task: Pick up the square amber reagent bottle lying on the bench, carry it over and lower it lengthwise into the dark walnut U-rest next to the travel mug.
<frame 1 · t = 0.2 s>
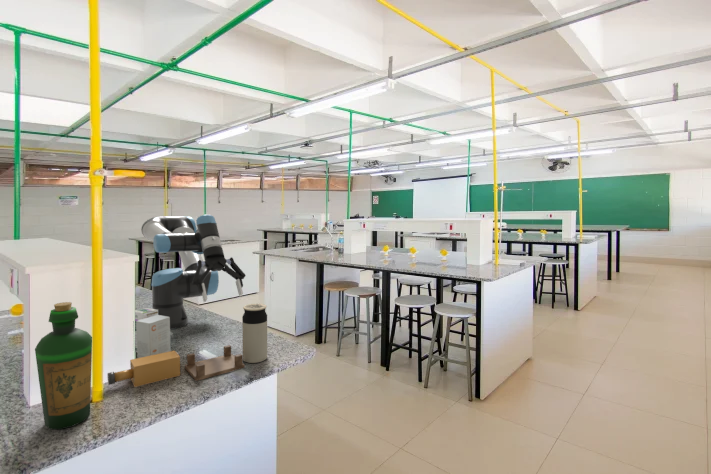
hand: (223, 297, 143), 16 cm above the table, tool tilted 35°, fingers open, 13 cm apart
bottle: (68, 421, 88), on the table
small box: (154, 357, 126), on the table
amber bottle: (155, 377, 111), on the table
U-rest: (214, 367, 118), on the table
travel mug: (255, 359, 125), on the table
syrup box: (146, 351, 131), on the table
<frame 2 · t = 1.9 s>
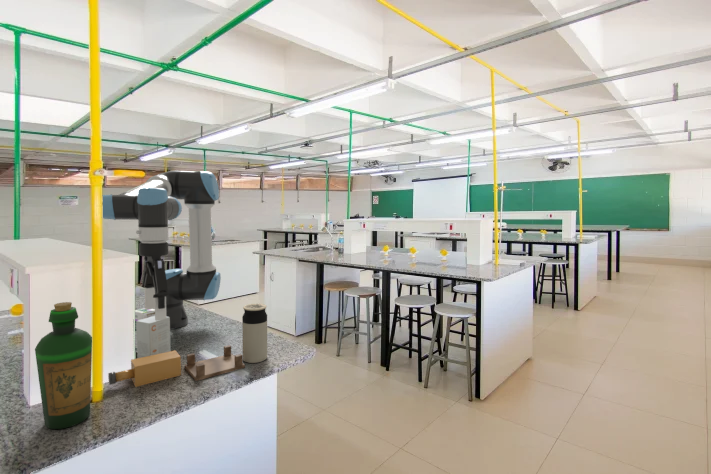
hand: (155, 314, 109), 19 cm above the table, tool pointing down, fingers open, 13 cm apart
nothing on the table moved.
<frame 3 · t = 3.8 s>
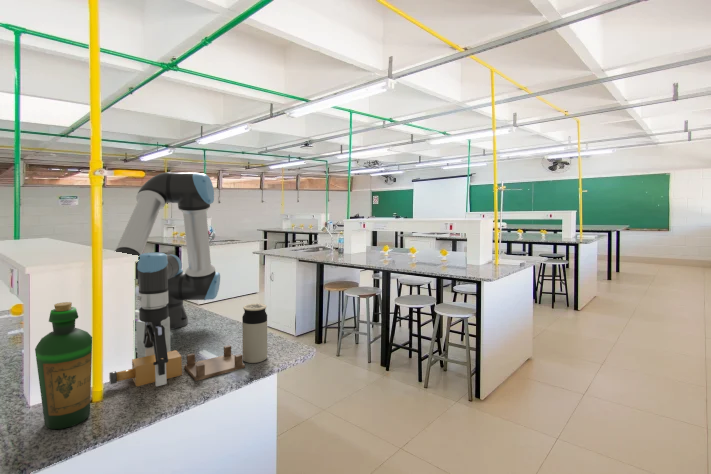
hand: (155, 376, 111), 0 cm above the table, tool pointing down, fingers open, 13 cm apart
nothing on the table moved.
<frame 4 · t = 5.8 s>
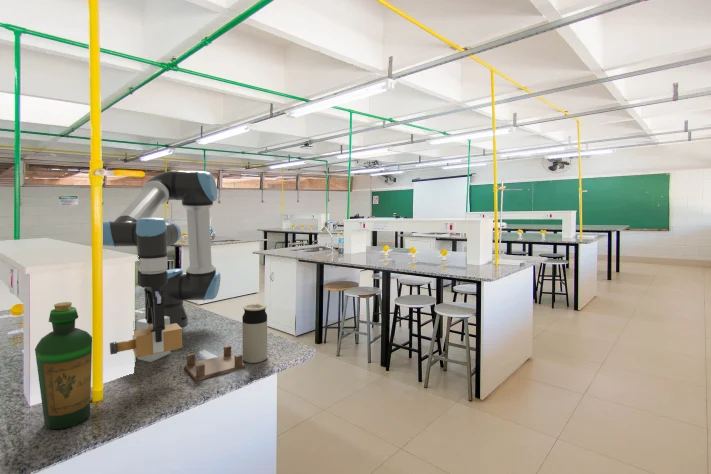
hand: (155, 347, 111), 9 cm above the table, tool pointing down, fingers closed on amber bottle, 6 cm apart
amber bottle: (158, 349, 111), point 8 cm above the table, touching gripper
everything else where it was.
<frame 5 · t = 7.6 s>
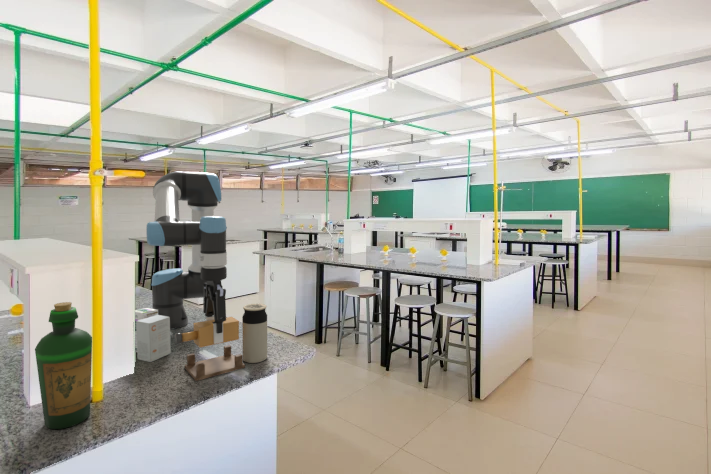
hand: (214, 339, 117), 9 cm above the table, tool pointing down, fingers closed on amber bottle, 6 cm apart
amber bottle: (216, 340, 117), point 9 cm above the table, touching gripper
everything else where it was.
when the fingers open (1 cm above the table, at t = 9.7 s): amber bottle stays where it is, resting on U-rest.
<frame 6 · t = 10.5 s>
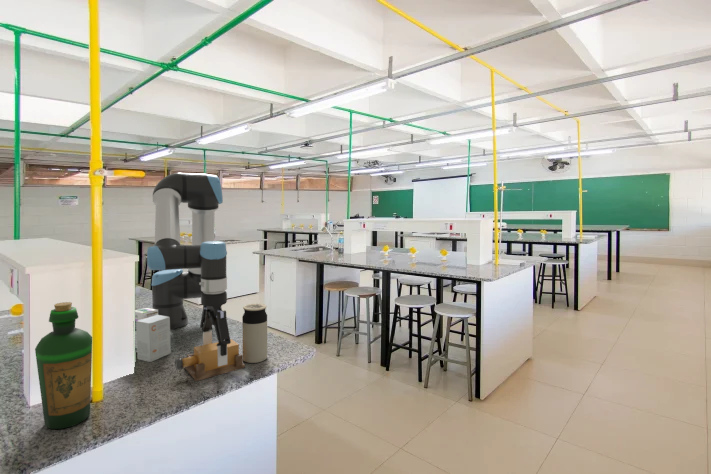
hand: (214, 357, 118), 3 cm above the table, tool pointing down, fingers open, 13 cm apart
amber bottle: (216, 364, 118), point 1 cm above the table, touching U-rest
everything else where it was.
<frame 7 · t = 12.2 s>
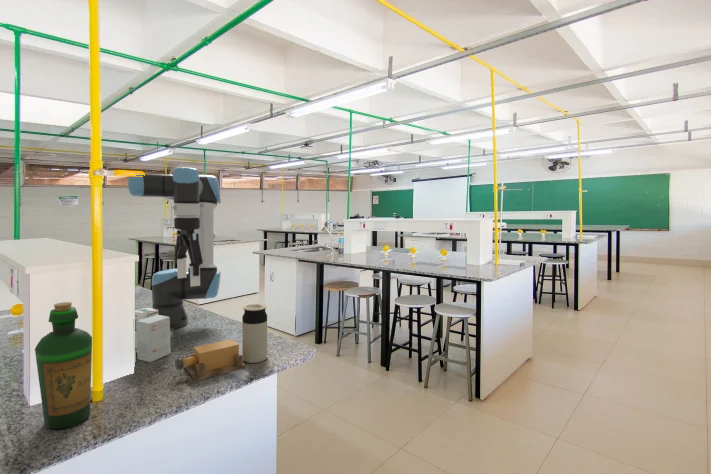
hand: (188, 281, 122), 26 cm above the table, tool pointing down, fingers open, 13 cm apart
nothing on the table moved.
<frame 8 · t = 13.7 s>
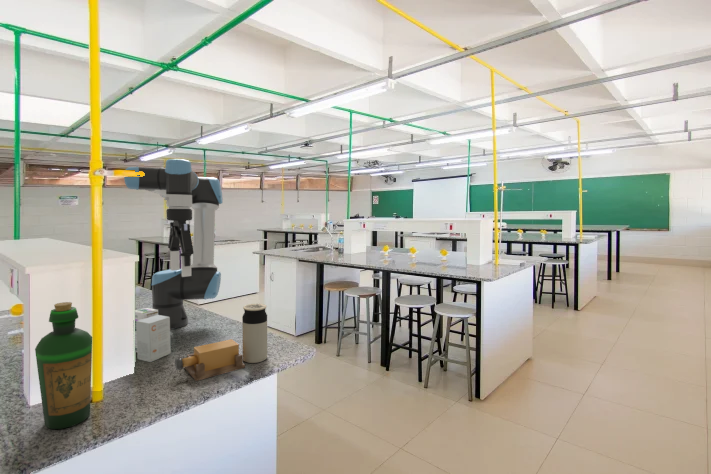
hand: (180, 273, 122), 29 cm above the table, tool pointing down, fingers open, 13 cm apart
nothing on the table moved.
at the end: amber bottle inside the target area on the U-rest (0.6 cm from its centre), point 1.0 cm above the U-rest's base; amber bottle tilted 0°; the gripper is holding nothing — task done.
